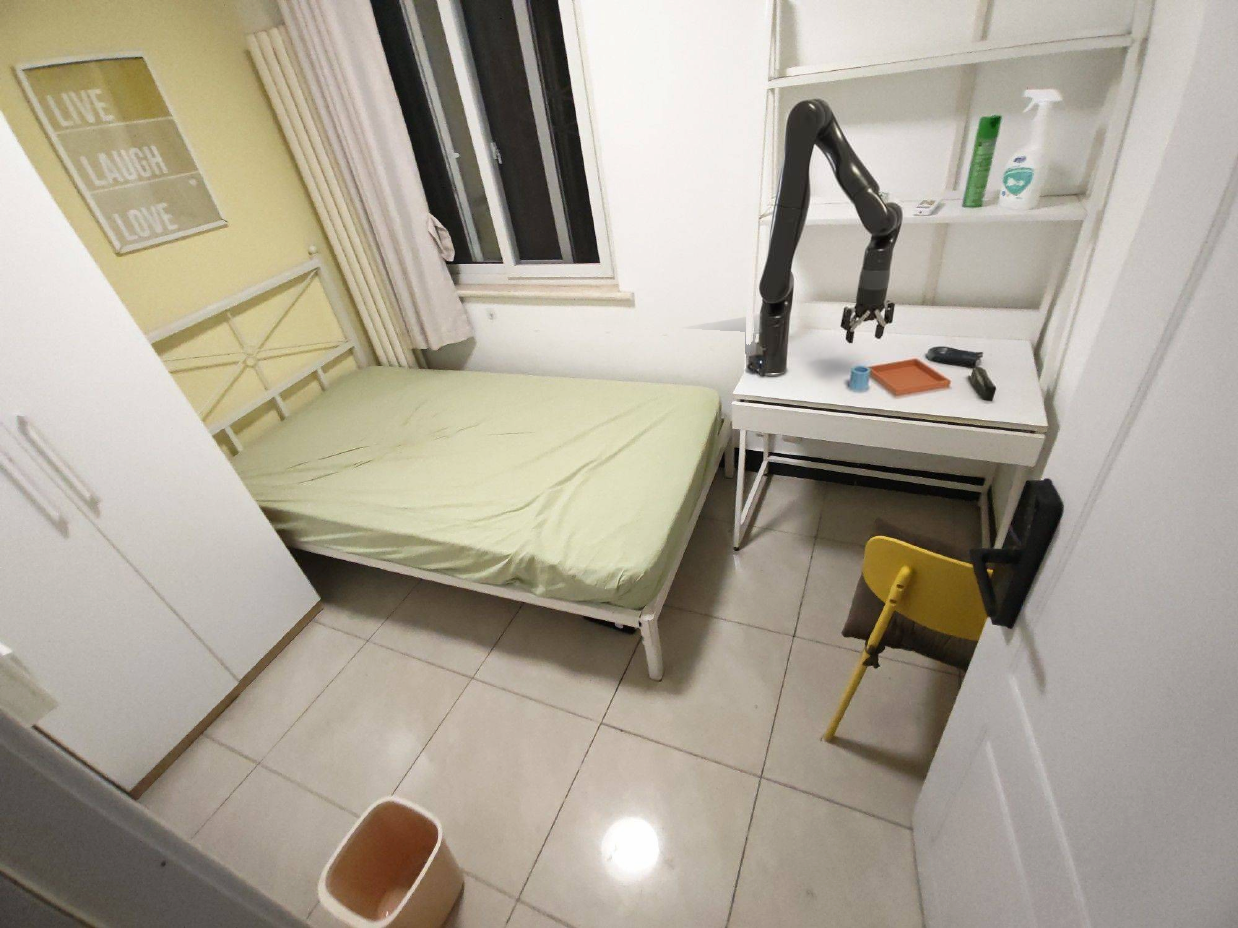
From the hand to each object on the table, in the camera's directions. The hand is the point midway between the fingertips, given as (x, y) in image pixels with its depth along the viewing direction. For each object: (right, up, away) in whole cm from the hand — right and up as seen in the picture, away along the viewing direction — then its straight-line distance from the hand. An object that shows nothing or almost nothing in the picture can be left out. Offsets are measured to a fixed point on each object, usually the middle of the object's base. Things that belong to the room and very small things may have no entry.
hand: (863, 340), depth 161 cm
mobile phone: (+33, -14, 0) cm, 36 cm away
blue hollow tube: (+2, -13, +8) cm, 15 cm away
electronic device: (+35, -3, +16) cm, 39 cm away
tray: (+17, -10, +9) cm, 21 cm away
